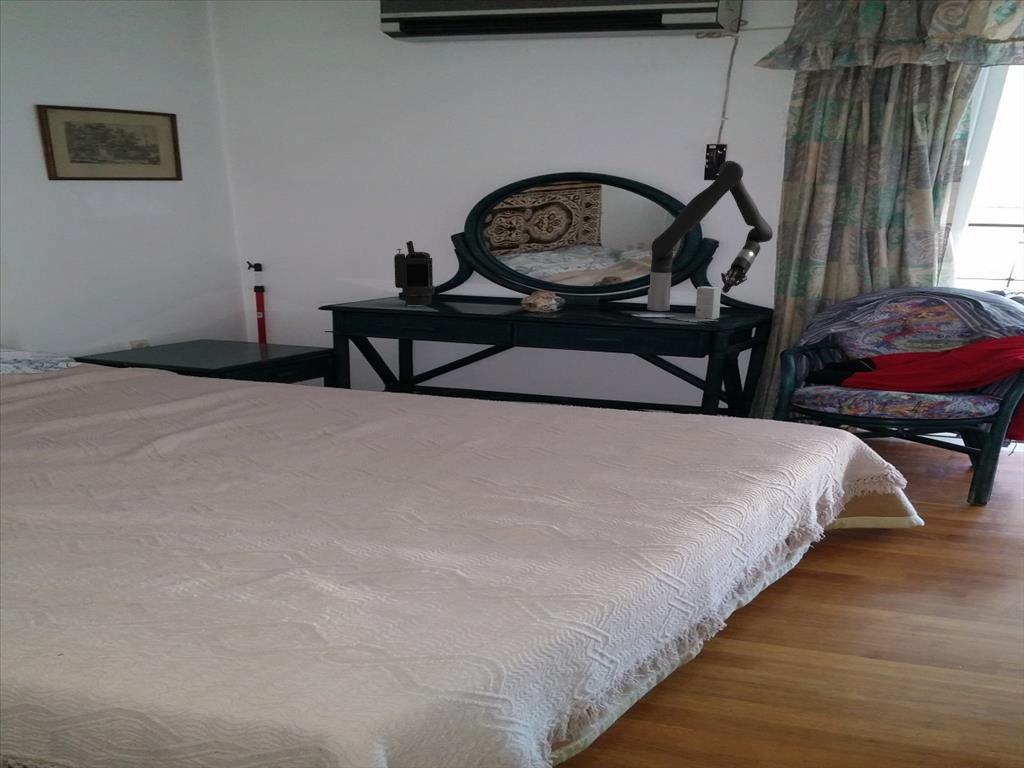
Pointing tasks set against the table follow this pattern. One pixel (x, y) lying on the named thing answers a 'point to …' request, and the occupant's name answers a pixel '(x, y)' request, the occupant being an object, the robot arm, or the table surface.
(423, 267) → the black boxy device
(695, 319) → the mat
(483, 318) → the table surface
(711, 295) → the small box
